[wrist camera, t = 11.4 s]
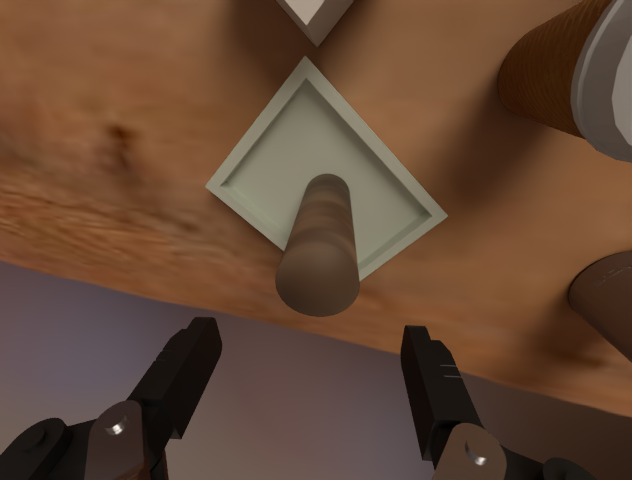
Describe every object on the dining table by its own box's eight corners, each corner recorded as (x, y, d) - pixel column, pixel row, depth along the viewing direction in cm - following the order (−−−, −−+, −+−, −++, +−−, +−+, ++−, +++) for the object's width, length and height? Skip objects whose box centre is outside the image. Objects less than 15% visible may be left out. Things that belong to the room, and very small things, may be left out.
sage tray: (439, 206, 27) (448, 216, 25) (338, 283, 32) (338, 296, 30) (308, 59, 22) (305, 55, 20) (215, 179, 27) (205, 186, 25)
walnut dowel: (359, 196, 26) (377, 287, 14) (327, 224, 28) (318, 328, 16) (327, 163, 25) (315, 232, 13) (295, 195, 27) (258, 283, 14)
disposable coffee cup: (459, 129, 24) (556, 157, 13) (506, -15, 19) (714, -151, 8) (569, 141, 23) (758, 179, 13) (643, -1, 19) (1030, -124, 8)
